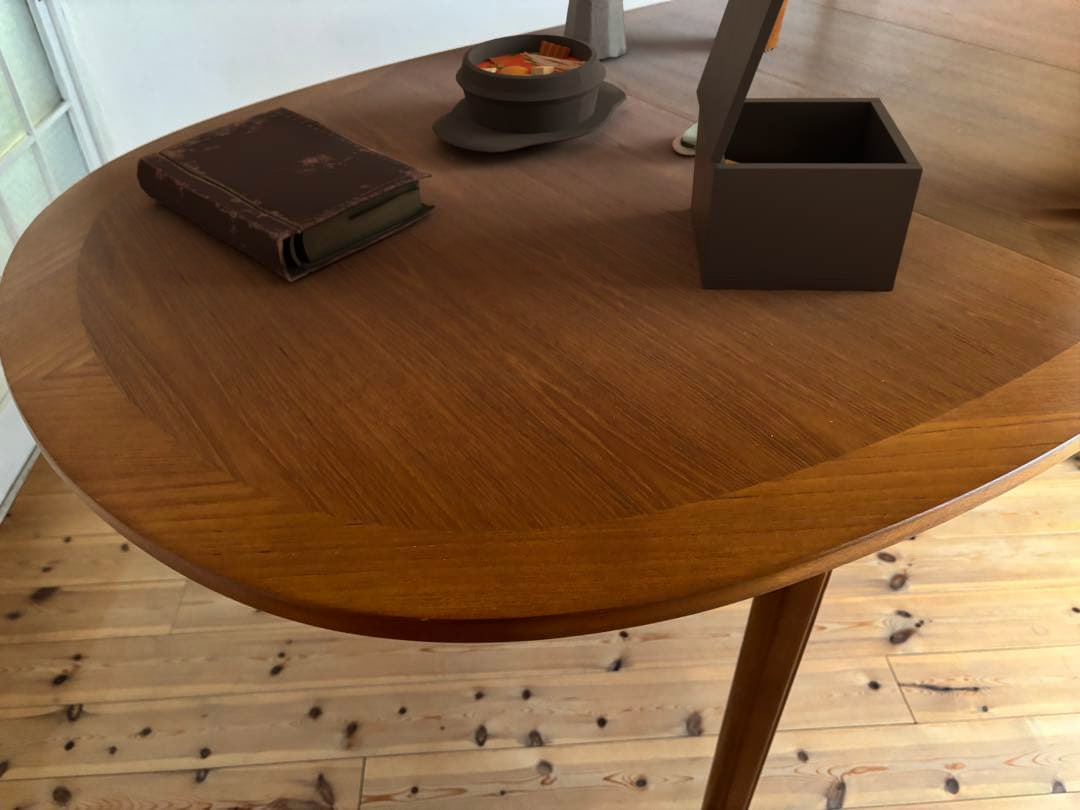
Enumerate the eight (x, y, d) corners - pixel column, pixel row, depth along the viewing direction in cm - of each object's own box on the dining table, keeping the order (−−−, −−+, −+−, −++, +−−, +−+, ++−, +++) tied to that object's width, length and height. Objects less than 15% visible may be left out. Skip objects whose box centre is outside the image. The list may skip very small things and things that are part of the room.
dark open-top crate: (856, 209, 89) (879, 97, 82) (892, 290, 78) (923, 168, 71) (690, 208, 90) (699, 98, 83) (702, 288, 79) (714, 168, 72)
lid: (778, -111, 73) (768, -114, 72) (810, -68, 61) (798, -71, 61) (704, 94, 83) (695, 91, 83) (720, 164, 71) (709, 161, 71)
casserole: (550, 80, 119) (549, 12, 114) (662, 116, 109) (666, 43, 103) (398, 137, 106) (389, 64, 100) (510, 185, 95) (506, 106, 90)
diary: (283, 288, 80) (271, 237, 77) (145, 204, 94) (129, 157, 91) (442, 213, 91) (437, 165, 87) (296, 147, 104) (287, 103, 101)
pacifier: (664, 158, 100) (718, 164, 98) (666, 101, 96) (722, 106, 94) (682, 133, 105) (734, 138, 103) (685, 78, 101) (739, 82, 99)
